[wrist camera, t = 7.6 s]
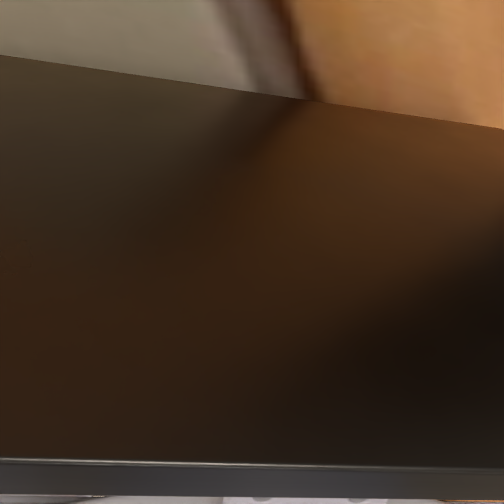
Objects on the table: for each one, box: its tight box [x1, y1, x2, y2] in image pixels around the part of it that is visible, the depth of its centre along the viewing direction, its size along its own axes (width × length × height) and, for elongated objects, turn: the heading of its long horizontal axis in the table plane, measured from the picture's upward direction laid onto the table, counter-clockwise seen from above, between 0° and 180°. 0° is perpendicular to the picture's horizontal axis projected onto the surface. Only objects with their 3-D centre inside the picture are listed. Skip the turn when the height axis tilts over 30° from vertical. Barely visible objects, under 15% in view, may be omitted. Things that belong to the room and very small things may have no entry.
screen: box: [0, 55, 504, 500], centre depth 10 cm, size 14×20×1 cm
